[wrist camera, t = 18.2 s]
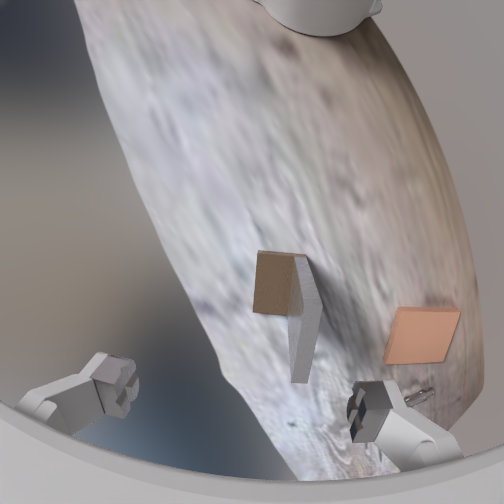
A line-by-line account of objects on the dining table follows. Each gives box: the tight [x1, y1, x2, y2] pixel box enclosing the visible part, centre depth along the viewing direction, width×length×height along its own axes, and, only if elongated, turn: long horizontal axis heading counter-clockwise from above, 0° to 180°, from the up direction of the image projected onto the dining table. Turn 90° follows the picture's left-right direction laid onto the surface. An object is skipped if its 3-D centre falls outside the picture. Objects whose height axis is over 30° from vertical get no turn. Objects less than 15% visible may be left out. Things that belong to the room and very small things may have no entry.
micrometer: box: [404, 388, 434, 408], centre depth 44 cm, size 15×7×2 cm, turn 113°
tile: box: [383, 307, 460, 364], centre depth 40 cm, size 9×2×11 cm
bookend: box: [253, 250, 323, 383], centre depth 32 cm, size 8×6×16 cm
